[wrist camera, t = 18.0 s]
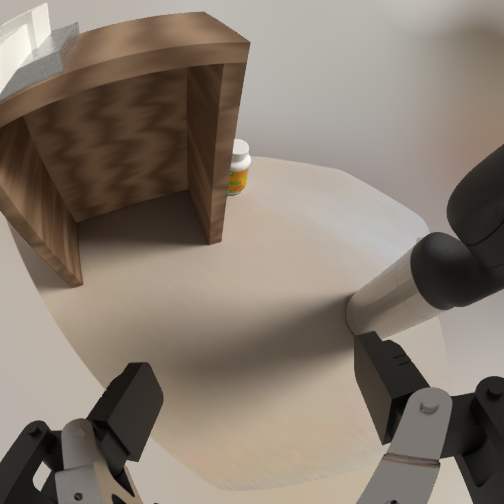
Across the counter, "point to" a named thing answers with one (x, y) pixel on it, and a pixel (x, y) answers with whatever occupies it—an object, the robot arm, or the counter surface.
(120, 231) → the counter surface
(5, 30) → the plug
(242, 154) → the supplement bottle
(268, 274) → the counter surface
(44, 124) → the walnut shelf
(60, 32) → the socket block
